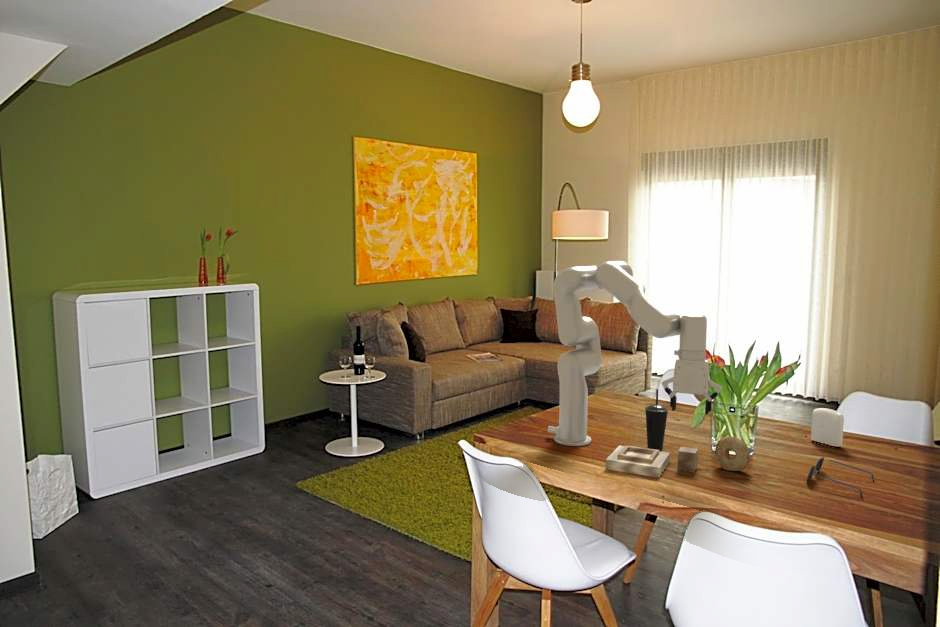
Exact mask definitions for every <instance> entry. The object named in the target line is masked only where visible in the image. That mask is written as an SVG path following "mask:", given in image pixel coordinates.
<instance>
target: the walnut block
mask: <svg viewBox="0 0 940 627" xmlns="http://www.w3.org/2000/svg"><path fill="white" fill-rule="evenodd" d="M698 456H699V448H695V447H688V446H680V448H679V449H678V451H677V469H679V470H678V471H680V470H686V471H685V472H687V471H692V472H691V473H693V472H695V473H696V471H697V470H698V469H697V468H698V460H699V459H698V458H699V457H698ZM695 470H696V471H695Z"/></svg>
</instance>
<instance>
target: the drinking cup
mask: <svg viewBox="0 0 940 627" xmlns="http://www.w3.org/2000/svg"><path fill="white" fill-rule="evenodd" d="M644 411H645V426H646V428H645V429H646V441H647V442H646V444H647V448H648V449H655V450H659V451H662V450H663V449H664V440H665V434H666V426H667V419H668V413H669V408H668V407H666V406H664V405H661V404H659V388H658V389H655V404H649V405H647V406H645V407H644Z"/></svg>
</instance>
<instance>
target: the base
mask: <svg viewBox="0 0 940 627" xmlns="http://www.w3.org/2000/svg"><path fill="white" fill-rule="evenodd" d="M670 460H671V453H670V452H667V451H662V450H655V449H648V447H641V446H633V445H627V444H626V445H618V446H617V447H616V448H615V449H614V451H613V452H611V454H609V455H608V457H607V458H606V459H605V470H610V471H613V472H614V471H615V472H620V473H627V474H628V473H629V474H633V475H634V474H635V475H639V476H646V477H647V476H648V477H652V478H658V477H659V478H660V477H661V476H662V474H663V473H664V471H665V470H666V468H667V467H668V466H669V464H670ZM668 463H669V464H668ZM666 466H667V467H666ZM664 469H665V470H664ZM662 472H663V473H662ZM660 475H661V476H660Z"/></svg>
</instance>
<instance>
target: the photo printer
mask: <svg viewBox="0 0 940 627" xmlns="http://www.w3.org/2000/svg"><path fill="white" fill-rule="evenodd" d="M844 419H845V417H844V415H843V414H842V413H841V412H839V411H837V410H834V409H832V408H831V409H830V408H825V407H819V408H818V407H817V408H814V409H813V411H812V413H811V430H810V441H811V440H814V441H817V442H821V443H825V444H829V445H832V446H841V445H842V446H843V441H844V440H843V439H844V437H843V436H844V422H845V420H844Z"/></svg>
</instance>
